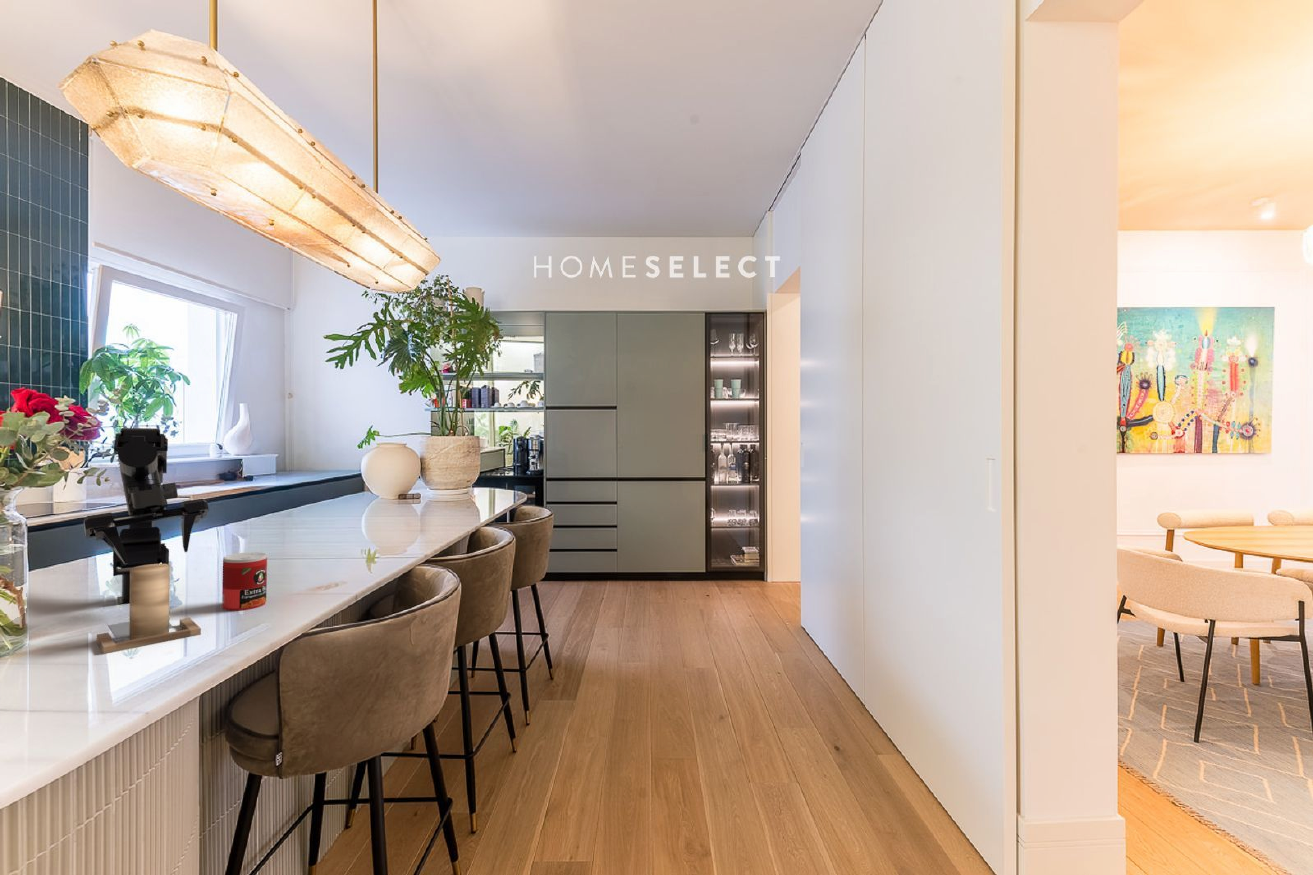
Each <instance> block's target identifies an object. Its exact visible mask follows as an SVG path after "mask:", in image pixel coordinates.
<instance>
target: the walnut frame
mask: <svg viewBox="0 0 1313 875" xmlns="http://www.w3.org/2000/svg"><path fill="white" fill-rule="evenodd" d="M179 626H180V627H181V630H177V631H171V632H170V631H169V633H165V634H160V635H154V636H149V637H144V638H139V639H134V640H125V641H119V642H115V641H114V640H113V638H112V636H111V634H110V633H109V632H103V633H97V634H96V643H97V645H98V646H99V648H100V650H101V652H102V654H103V655H107V654H111V653H116V652H120V651H126V650H130V649H137V648H141V647H146V646H152V645H156V644H157V645H158V644H161V643H167V642H172V641H176V640H182V639H186V638H191V637H196V636H200V635H201V634H202V628H201V627H200V626H199V625H198V624H196V622H195V621H194V620H193V619H192V618H190V617H186V618H185V617H184V618H180V619H179Z"/></svg>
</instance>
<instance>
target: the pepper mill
mask: <svg viewBox="0 0 1313 875" xmlns="http://www.w3.org/2000/svg"><path fill="white" fill-rule="evenodd" d="M170 568H171V567H170V564H162V563H160V564H150V565H142V566H137V567H133V568H131V569H130V603H129V621H128V622H129V637H128V639H129V640H134V639H139V638H144V637H149V636H154V635H160V634H165V633H170V629H169V623H170V584H171V583H170V581H171V580H170V577H171V576H170V574H171V573H170V570H171V569H170ZM129 640H128V641H129Z"/></svg>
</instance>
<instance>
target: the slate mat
mask: <svg viewBox="0 0 1313 875" xmlns="http://www.w3.org/2000/svg"><path fill="white" fill-rule="evenodd" d="M108 627H109V629H110V630H111V632H112V635H113V636H114V637H115V638H116V639H123V638H129V621H125V622H118V623H113V624H109V625H108ZM170 629H175V627H174V626H173V625H172V623H170V622H169V630H170Z"/></svg>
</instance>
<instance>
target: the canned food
mask: <svg viewBox="0 0 1313 875" xmlns="http://www.w3.org/2000/svg"><path fill="white" fill-rule="evenodd" d="M267 555H268V554H267V553H266V552H262V551H261V552H258V551H253V552H250V551H249V552H248V551H247V552H239V553H238V552H237V553H232V554H227V555H226V556H224V557H223V558H222V596H221V600H222V602H221V603H222V604H221V605H222V606H221V607H222V608H223V609H224V610H225V611H233V612H235V611H236V612H237V611H249V610H252V609H257V608H260V607H263V606H264V605H266V603H267V584H268V583H267V582H268V580H267V578H268V556H267Z"/></svg>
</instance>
